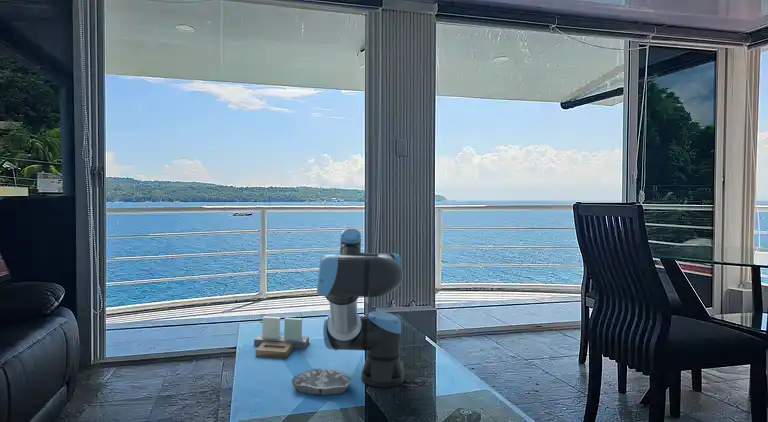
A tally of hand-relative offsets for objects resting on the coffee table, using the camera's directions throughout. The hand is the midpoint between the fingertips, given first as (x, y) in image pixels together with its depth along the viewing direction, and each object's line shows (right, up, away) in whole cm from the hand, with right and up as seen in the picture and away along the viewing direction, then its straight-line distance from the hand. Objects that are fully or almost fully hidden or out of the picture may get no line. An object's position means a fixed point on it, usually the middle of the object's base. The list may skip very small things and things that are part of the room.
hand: (350, 302), depth 214 cm
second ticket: (-24, -18, +3) cm, 30 cm away
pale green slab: (-33, -18, +4) cm, 38 cm away
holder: (-30, -19, -7) cm, 36 cm away
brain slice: (-7, -22, -36) cm, 43 cm away
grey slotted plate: (-29, -18, +3) cm, 34 cm away
